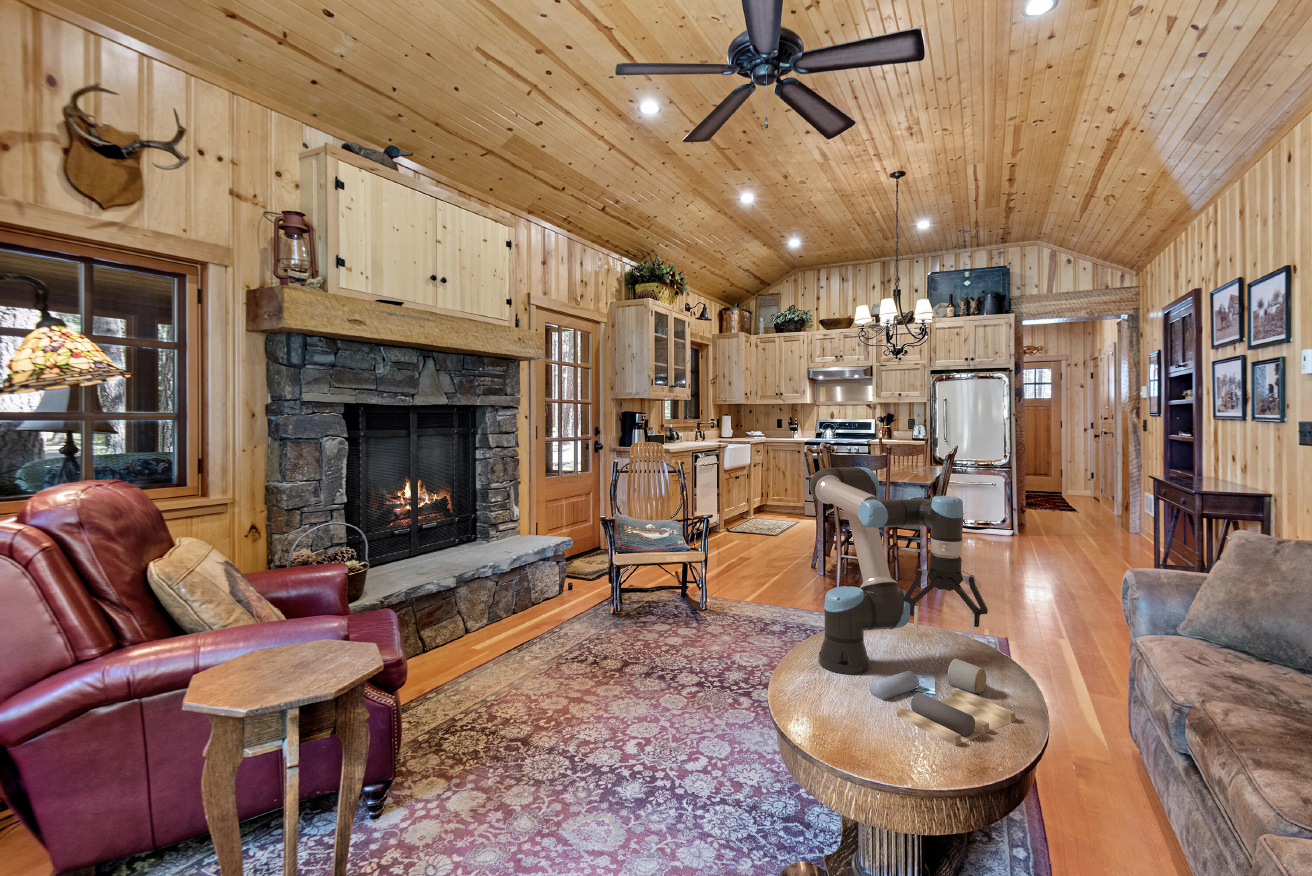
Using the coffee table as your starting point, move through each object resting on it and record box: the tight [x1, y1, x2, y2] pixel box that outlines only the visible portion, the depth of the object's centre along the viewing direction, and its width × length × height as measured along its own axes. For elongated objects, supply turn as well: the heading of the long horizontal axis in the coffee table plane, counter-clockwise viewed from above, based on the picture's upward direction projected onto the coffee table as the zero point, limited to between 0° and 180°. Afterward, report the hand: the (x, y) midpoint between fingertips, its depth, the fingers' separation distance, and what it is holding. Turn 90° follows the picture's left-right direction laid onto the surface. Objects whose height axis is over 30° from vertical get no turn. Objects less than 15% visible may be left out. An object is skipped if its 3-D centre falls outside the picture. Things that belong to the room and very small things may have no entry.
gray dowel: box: [869, 670, 920, 701], centre depth 165 cm, size 14×5×5 cm, turn 119°
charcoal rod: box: [910, 691, 975, 737], centre depth 147 cm, size 14×5×5 cm
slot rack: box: [896, 687, 1016, 747], centre depth 150 cm, size 16×24×3 cm, turn 119°
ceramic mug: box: [947, 658, 987, 695], centre depth 169 cm, size 11×8×8 cm
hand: (943, 633), depth 159 cm, fingers open, 13 cm apart
